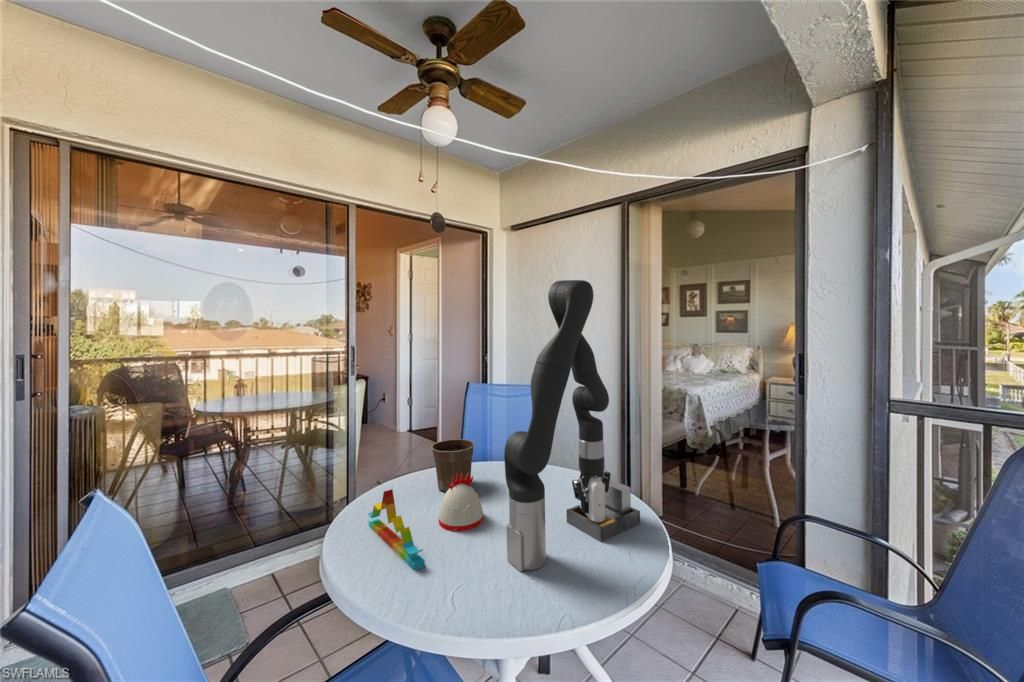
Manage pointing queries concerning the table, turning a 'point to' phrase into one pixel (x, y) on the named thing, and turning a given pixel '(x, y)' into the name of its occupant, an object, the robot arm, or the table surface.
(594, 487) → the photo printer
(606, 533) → the rack
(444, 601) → the table surface
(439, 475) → the plant pot
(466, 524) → the kitchen timer
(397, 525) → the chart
